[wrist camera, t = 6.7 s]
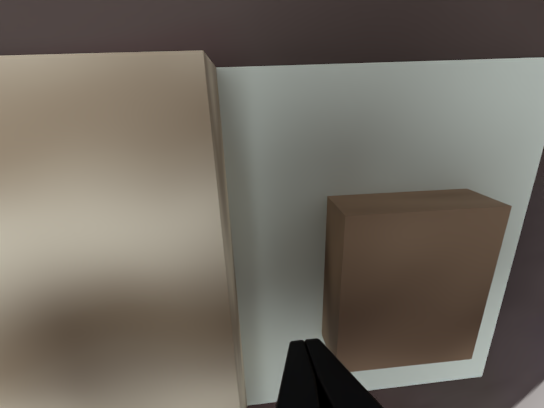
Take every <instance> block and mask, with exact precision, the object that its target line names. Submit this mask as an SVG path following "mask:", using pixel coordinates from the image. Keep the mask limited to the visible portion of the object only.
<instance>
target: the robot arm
mask: <svg viewBox="0 0 544 408" xmlns="http://www.w3.org/2000/svg"><path fill="white" fill-rule="evenodd" d="M276 408H383V407H382V406H381V405H380V404H379V402H378V401H377V400H376V399H375V398H374V397H373V396H372V395H371V394H370V393H369V392H368V391H367V390H366V389H365V387H364V386H363V385H362V384H361V383H360V382H359V381H358V380H357V379H356V378H355V377H354V376H353V375H352V373H351V372H350V371H349V370H348V369H347V368H346V367H345V366H344V365H343V364H342V363H341V362H340V361H339V360H338V358H337V357H336V356H335V355H334V354H333V353H332V352H331V351H330V350H329V349H328V348H327V347H326V346H325V345H324V343H323V342H322V341H321V340H320V339H318V338H313V339H306V340H305V341H304V340H294V341H291V342H290V343H289V348H288V352H287V357H286V361H285V366H284V371H283V375H282V380H281V385H280V389H279V394H278V399H277V403H276Z"/></svg>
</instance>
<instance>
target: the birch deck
mask: <svg viewBox="0 0 544 408" xmlns="http://www.w3.org/2000/svg"><path fill="white" fill-rule="evenodd" d="M0 408H247V398H246V387H245V376H244V365H243V354H242V344H241V333H240V322H239V311H238V300H237V289H236V278H235V267H234V257H233V246H232V235H231V224H230V213H229V202H228V191H227V181H226V170H225V159H224V148H223V137H222V126H221V115H220V104H219V94H218V83H217V72H216V67H215V65H214V64H213V63H212V61H211V60H210V59H209V58H208V56H207V55H206V54H205V52H204V51H203V50H198V51H160V52H122V53H83V54H45V55H7V56H0Z"/></svg>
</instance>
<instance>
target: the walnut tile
mask: <svg viewBox="0 0 544 408" xmlns="http://www.w3.org/2000/svg"><path fill="white" fill-rule="evenodd" d="M511 208H512V206H510V205H508V204H505V203H503V202H500V201H498V200H495V199H492V198H490V197H487V196H485V195H482V194H480V193H477V192H475V191H472V190H469V189H448V190H430V191H411V192H393V193H374V194H356V195H337V196H327V217H326V241H325V266H324V290H323V314H322V336H323V339H324V342H325V345H326V347H327V348H328V349H329V350H330V351H331V352H332V353H333V354H334V355H335V356H336V357H337V358H338V360H339V361H340V362H341V363H342V364H343V365H344V366H345V367H346V368H347V369H348V370H349V371H350V372H356V371H365V370H375V369H384V368H393V367H403V366H412V365H421V364H431V363H440V362H449V361H459V360H468V359H472V356H473V352H474V348H475V344H476V341H477V337H478V333H479V329H480V325H481V322H482V318H483V314H484V310H485V306H486V303H487V299H488V295H489V291H490V287H491V284H492V280H493V276H494V272H495V268H496V265H497V261H498V257H499V253H500V249H501V246H502V242H503V238H504V234H505V230H506V227H507V223H508V219H509V215H510V211H511Z"/></svg>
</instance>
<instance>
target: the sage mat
mask: <svg viewBox="0 0 544 408" xmlns="http://www.w3.org/2000/svg"><path fill="white" fill-rule="evenodd" d="M216 72H217V83H218V94H219V104H220V115H221V126H222V137H223V148H224V159H225V170H226V181H227V191H228V202H229V213H230V224H231V235H232V246H233V257H234V267H235V278H236V289H237V300H238V311H239V322H240V333H241V344H242V354H243V365H244V376H245V387H246V398H247V405H255V404H263V403H271V402H277V399H278V394H279V389H280V385H281V380H282V375H283V371H284V366H285V361H286V357H287V352H288V348H289V343H290V342H291V341H294V340H304V341H305V340H306V339H313V338H318V339H320V340H321V341H322V342H323V343H324V345H325V342H324V339H323V336H322V314H323V290H324V266H325V241H326V217H327V196H337V195H356V194H374V193H393V192H411V191H430V190H448V189H469V190H472V191H475V192H477V193H480V194H482V195H485V196H487V197H490V198H492V199H495V200H498V201H500V202H503V203H505V204H508V205H510V206H512V208H511V211H510V215H509V219H508V223H507V227H506V230H505V234H504V238H503V242H502V246H501V249H500V253H499V257H498V261H497V265H496V268H495V272H494V276H493V280H492V284H491V287H490V291H489V295H488V299H487V303H486V306H485V310H484V314H483V318H482V322H481V325H480V329H479V333H478V337H477V341H476V344H475V348H474V352H473V356H472V359H468V360H459V361H449V362H440V363H431V364H421V365H412V366H403V367H393V368H384V369H375V370H365V371H356V372H351V373H352V375H353V376H354V377H355V378H356V379H357V380H358V381H359V382H360V383H361V384H362V385H363V386H364V387H365V389H366V390H367V391H368V390H376V389H385V388H393V387H401V386H409V385H417V384H425V383H433V382H441V381H449V380H457V379H465V378H473V377H482V374H483V371H484V367H485V363H486V359H487V356H488V352H489V348H490V344H491V341H492V337H493V333H494V330H495V326H496V322H497V318H498V315H499V311H500V307H501V303H502V300H503V296H504V292H505V289H506V285H507V281H508V277H509V274H510V270H511V266H512V263H513V259H514V255H515V251H516V248H517V244H518V240H519V236H520V233H521V229H522V225H523V222H524V218H525V214H526V210H527V207H528V203H529V199H530V195H531V192H532V188H533V184H534V181H535V177H536V173H537V169H538V166H539V162H540V158H541V155H542V151H543V147H544V57H542V58H509V59H477V60H445V61H412V62H380V63H347V64H315V65H282V66H250V67H218V68H216ZM325 346H326V345H325Z"/></svg>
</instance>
